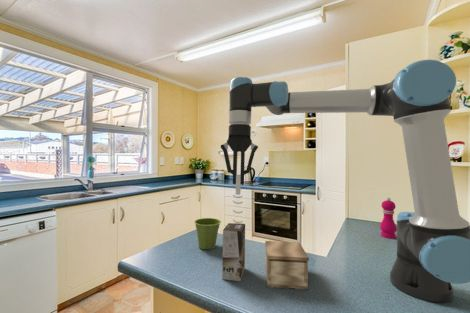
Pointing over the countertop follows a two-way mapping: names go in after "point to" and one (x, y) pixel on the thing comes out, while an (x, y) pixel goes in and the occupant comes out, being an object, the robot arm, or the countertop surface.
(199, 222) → the plant pot
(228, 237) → the coffee box
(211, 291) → the countertop surface
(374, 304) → the countertop surface
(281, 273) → the box
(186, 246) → the countertop surface
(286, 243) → the lid
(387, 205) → the pepper mill
